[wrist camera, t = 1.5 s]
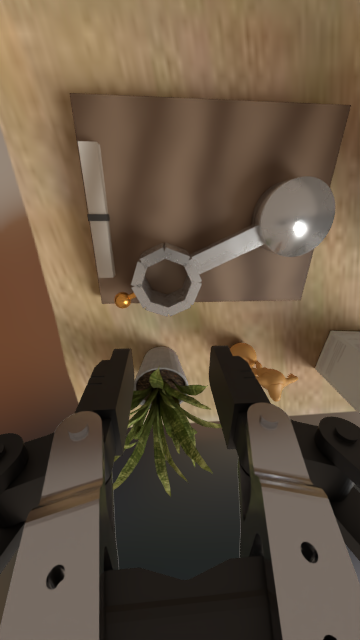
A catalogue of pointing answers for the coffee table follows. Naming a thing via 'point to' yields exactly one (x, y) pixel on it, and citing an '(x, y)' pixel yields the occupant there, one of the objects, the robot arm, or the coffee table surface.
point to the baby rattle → (242, 242)
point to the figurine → (263, 371)
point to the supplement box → (342, 365)
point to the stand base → (196, 185)
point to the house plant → (163, 413)
